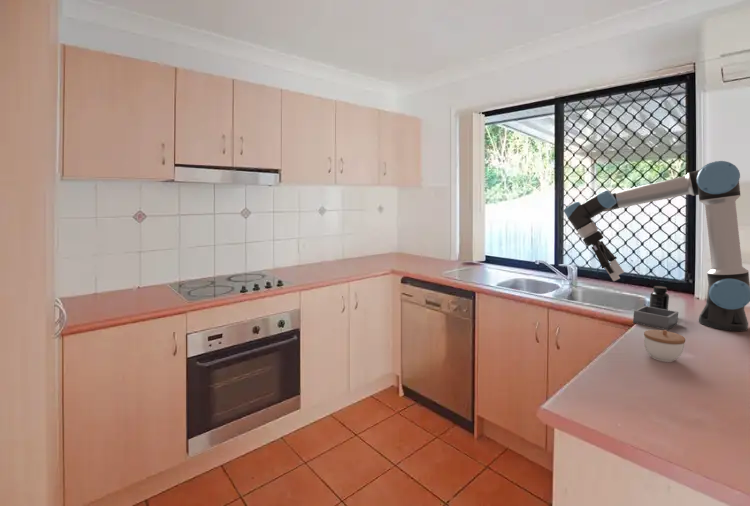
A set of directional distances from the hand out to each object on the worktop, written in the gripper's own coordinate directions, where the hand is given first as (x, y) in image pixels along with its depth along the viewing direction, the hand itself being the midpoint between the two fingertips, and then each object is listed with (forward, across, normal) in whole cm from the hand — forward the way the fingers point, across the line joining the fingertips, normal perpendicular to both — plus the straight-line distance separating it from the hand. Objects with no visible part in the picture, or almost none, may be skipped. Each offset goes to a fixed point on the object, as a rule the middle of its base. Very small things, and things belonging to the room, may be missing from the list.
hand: (619, 276), depth 174 cm
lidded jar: (+24, +45, +6) cm, 51 cm away
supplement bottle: (+23, -15, +2) cm, 28 cm away
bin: (+22, +2, +2) cm, 22 cm away
